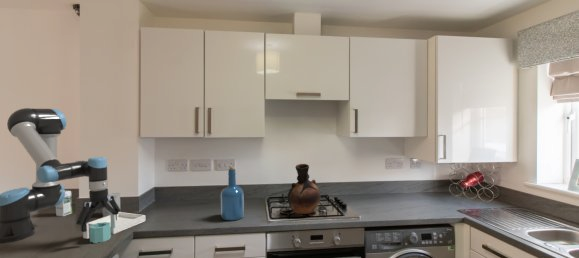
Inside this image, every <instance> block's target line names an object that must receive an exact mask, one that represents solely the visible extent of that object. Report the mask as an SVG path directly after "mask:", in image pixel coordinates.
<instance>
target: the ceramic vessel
mask: <svg viewBox="0 0 579 258" xmlns="http://www.w3.org/2000/svg"><path fill="white" fill-rule="evenodd" d="M309 169H310V165H309V164H307V163H299V164H297V165H296V166H295V170H296V173H297V176H296V180H297V182H293V183H291V187H290V188H289V190H288V193H287V199H286V200H287V203H288V205H289V207H290V209H291V210H292V212H294V213H296V214H298V215H299V214H301V215H302V214H303V215H307V214H311V213H313V212H314V211H315V210H316V209H317V208H318V206H319V204H320V201H321V198H322V197H321V196H322V195H321V191H320V188H319V187H318V186H317V184H316V179H312V180H309V179H310V174H309Z"/></svg>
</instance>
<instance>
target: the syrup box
mask: <svg viewBox="0 0 579 258" xmlns="http://www.w3.org/2000/svg"><path fill="white" fill-rule="evenodd" d="M72 202H73V201H72V191H71V190H65V197H64V200H63V201H62V202H61V204H59V205H57V206H55V214H56V216H57V217H65V216H68V215H71V214H73V203H72Z"/></svg>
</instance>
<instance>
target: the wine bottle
mask: <svg viewBox="0 0 579 258" xmlns="http://www.w3.org/2000/svg"><path fill="white" fill-rule="evenodd" d="M227 175H228V176H227V177H228V182H227V183H228V185H227V187H225V188H223V189H222V190H221V192H220V216H221V218H222V219H223V220H225V221H237V220H240V219H242V218H244V215H245V211H244V210H245V199H244V193H245V192H244V190H243V189H242V187H241V186H239V185H237V181H236V169H235V166H229V169H228V173H227Z"/></svg>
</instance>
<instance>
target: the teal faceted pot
mask: <svg viewBox="0 0 579 258" xmlns="http://www.w3.org/2000/svg"><path fill="white" fill-rule="evenodd" d="M111 237H112V234H111V232H110V223H108V222H102V223H97V224H94V225H91V226H90V230H89V243H91V242H93V244H98V242H100V243H103V242H106V241H108V240H110V239H111Z"/></svg>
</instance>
